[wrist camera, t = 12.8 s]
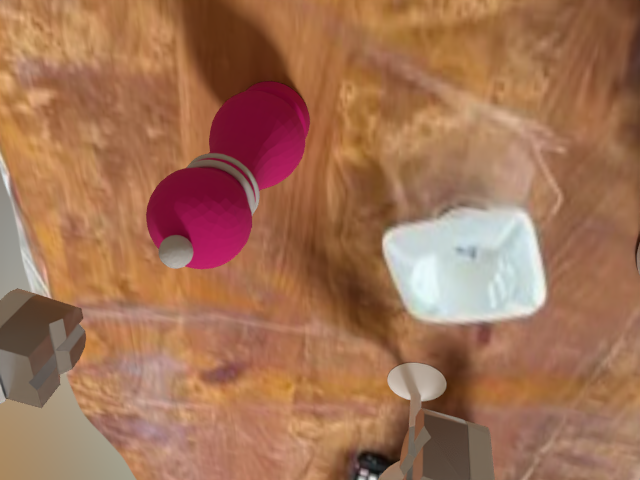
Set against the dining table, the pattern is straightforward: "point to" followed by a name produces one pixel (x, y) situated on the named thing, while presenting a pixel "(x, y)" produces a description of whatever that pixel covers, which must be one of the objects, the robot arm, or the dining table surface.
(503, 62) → the dining table surface
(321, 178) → the dining table surface
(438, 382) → the champagne flute
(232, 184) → the pepper mill
